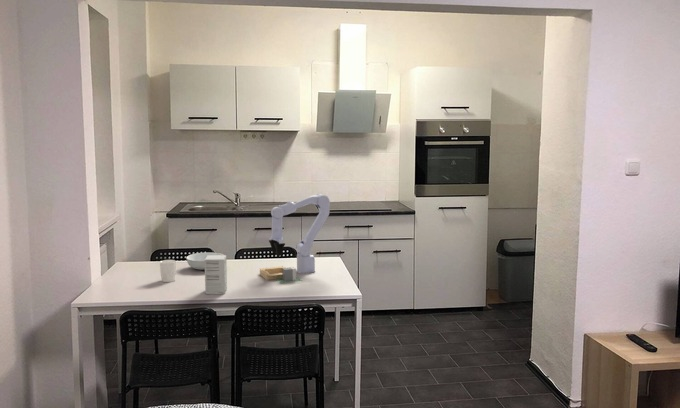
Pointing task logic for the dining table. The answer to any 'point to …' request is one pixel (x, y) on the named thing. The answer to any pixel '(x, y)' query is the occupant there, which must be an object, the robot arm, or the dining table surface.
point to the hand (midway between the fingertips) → (276, 254)
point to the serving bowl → (199, 260)
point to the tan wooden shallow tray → (271, 272)
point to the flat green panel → (287, 281)
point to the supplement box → (215, 274)
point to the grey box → (289, 274)
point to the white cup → (168, 270)
